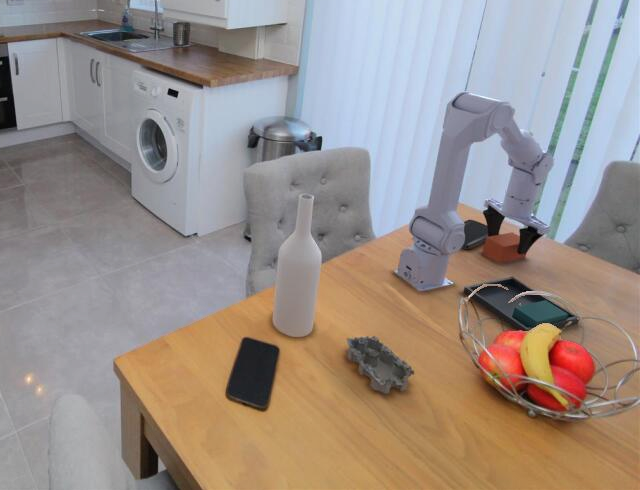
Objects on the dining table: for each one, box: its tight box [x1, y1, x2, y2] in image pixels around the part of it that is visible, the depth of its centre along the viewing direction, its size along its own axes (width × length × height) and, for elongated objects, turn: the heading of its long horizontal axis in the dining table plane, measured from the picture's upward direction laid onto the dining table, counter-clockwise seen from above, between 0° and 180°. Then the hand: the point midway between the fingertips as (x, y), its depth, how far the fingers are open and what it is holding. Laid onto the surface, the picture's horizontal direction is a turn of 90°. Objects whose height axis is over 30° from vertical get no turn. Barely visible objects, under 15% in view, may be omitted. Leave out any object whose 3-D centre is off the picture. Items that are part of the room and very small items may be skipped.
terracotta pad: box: [481, 231, 527, 264], centre depth 119 cm, size 8×5×5 cm, turn 104°
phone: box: [460, 219, 488, 251], centre depth 129 cm, size 8×1×15 cm
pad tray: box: [463, 276, 581, 331], centre depth 102 cm, size 13×14×2 cm
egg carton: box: [346, 335, 415, 395], centre depth 88 cm, size 11×8×4 cm
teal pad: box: [512, 300, 568, 328], centre depth 98 cm, size 8×4×2 cm, turn 104°
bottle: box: [272, 193, 323, 338], centre depth 95 cm, size 8×8×30 cm
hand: (506, 244), depth 119 cm, fingers open, 7 cm apart
